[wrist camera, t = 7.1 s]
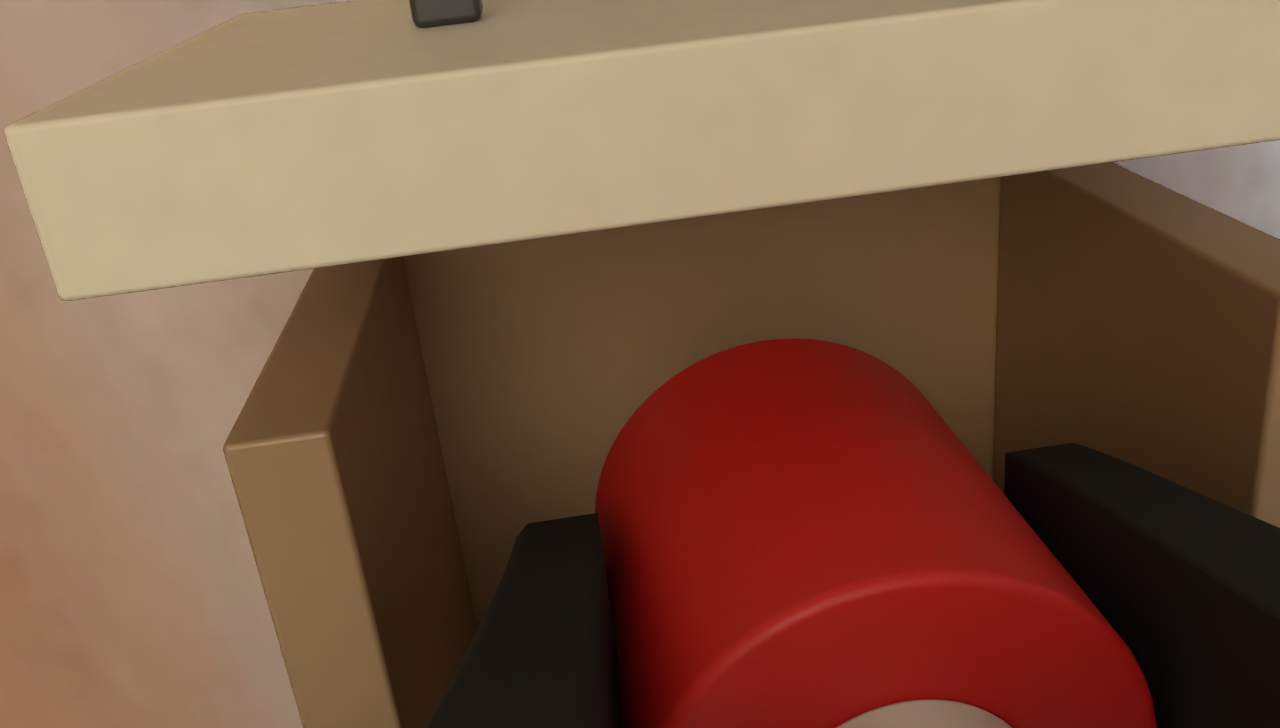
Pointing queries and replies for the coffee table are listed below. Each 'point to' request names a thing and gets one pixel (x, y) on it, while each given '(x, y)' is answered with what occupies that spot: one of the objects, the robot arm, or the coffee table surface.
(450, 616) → the drawer
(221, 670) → the coffee table surface
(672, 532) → the red cylinder
